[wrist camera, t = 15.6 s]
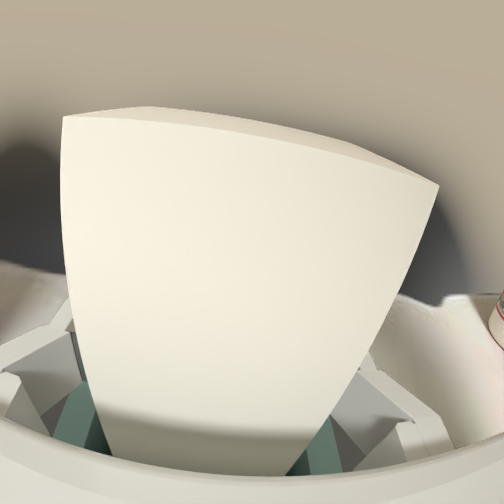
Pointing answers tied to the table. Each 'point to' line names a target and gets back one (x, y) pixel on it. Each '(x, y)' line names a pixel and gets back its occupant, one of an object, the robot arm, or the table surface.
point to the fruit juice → (498, 321)
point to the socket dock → (93, 438)
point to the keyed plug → (226, 279)
